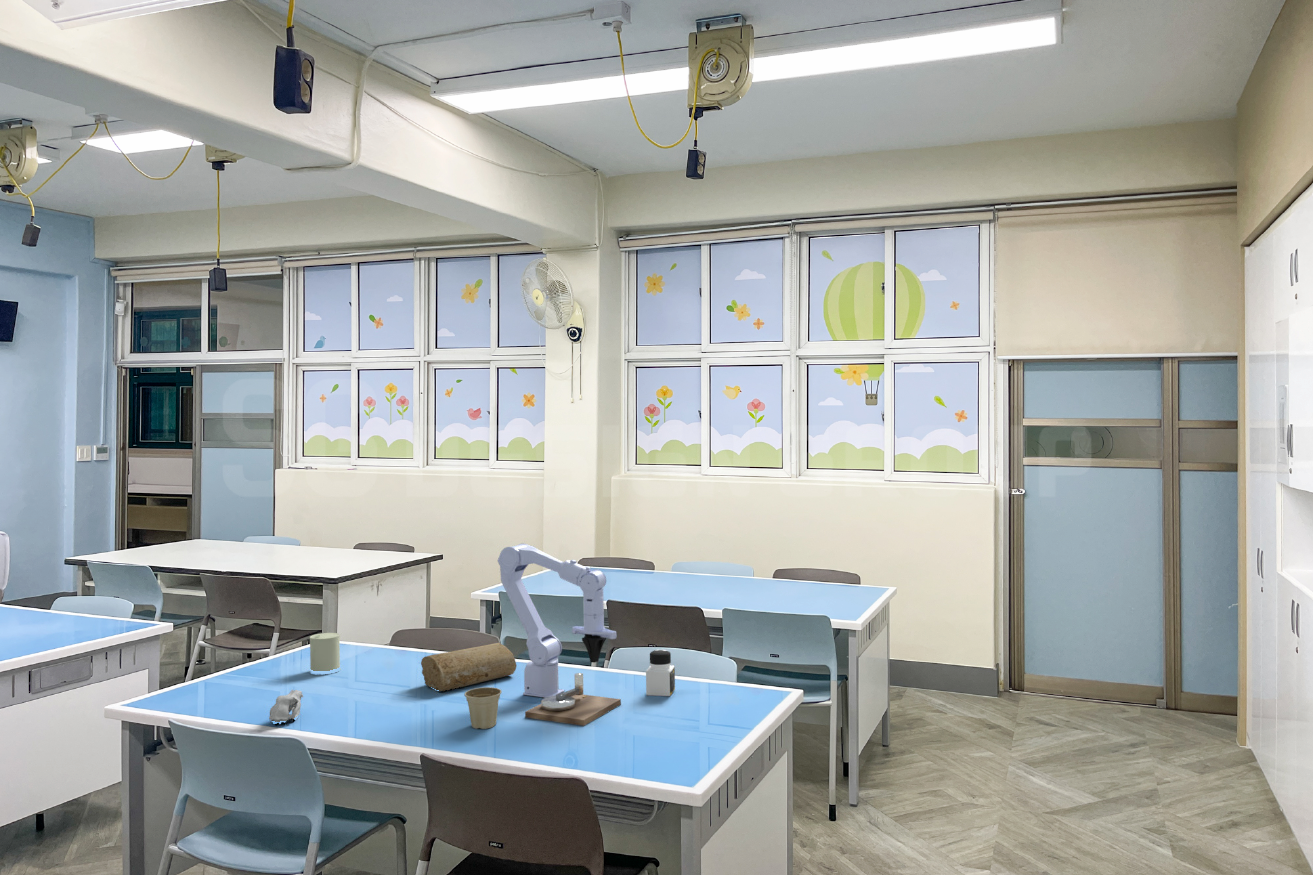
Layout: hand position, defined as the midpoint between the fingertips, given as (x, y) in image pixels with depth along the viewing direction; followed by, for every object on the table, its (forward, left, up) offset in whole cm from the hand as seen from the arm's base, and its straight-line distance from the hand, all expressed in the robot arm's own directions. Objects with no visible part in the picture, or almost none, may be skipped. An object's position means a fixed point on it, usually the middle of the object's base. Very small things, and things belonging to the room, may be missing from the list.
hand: (594, 661), depth 258 cm
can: (-95, -8, -11) cm, 96 cm away
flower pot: (-14, -33, -11) cm, 37 cm away
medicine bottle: (+15, +12, -11) cm, 22 cm away
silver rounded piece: (-2, -13, -8) cm, 15 cm away
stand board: (+1, -13, -10) cm, 16 cm away
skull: (-65, -50, -11) cm, 83 cm away
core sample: (-45, +1, -11) cm, 46 cm away
